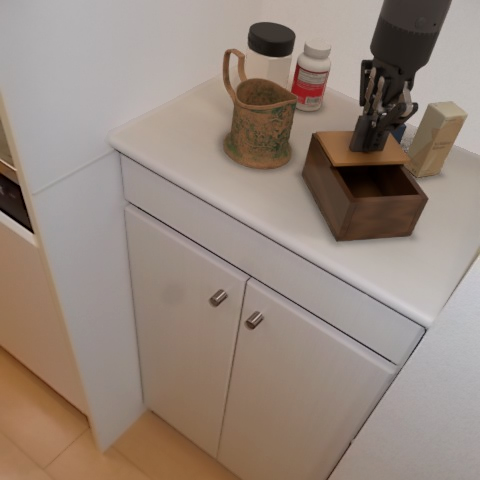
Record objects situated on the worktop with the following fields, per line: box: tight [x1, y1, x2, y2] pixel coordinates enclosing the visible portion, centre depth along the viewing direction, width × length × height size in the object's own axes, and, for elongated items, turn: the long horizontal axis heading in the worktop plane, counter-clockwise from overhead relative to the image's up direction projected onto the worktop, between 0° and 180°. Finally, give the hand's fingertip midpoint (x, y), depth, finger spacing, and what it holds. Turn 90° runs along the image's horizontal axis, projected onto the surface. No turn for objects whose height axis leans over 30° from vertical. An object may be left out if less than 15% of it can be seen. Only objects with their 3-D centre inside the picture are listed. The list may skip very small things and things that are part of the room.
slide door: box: [315, 114, 411, 166], centre depth 75 cm, size 12×8×6 cm, turn 104°
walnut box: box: [301, 132, 429, 242], centre depth 78 cm, size 12×16×7 cm
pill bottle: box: [290, 37, 332, 112], centre depth 95 cm, size 6×6×11 cm
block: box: [390, 123, 408, 146], centre depth 93 cm, size 4×4×4 cm
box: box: [404, 100, 469, 178], centre depth 86 cm, size 5×4×11 cm
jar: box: [244, 21, 297, 89], centre depth 94 cm, size 9×8×12 cm
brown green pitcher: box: [222, 48, 298, 170], centre depth 84 cm, size 12×18×12 cm, turn 33°
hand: (366, 146), depth 75 cm, fingers closed
